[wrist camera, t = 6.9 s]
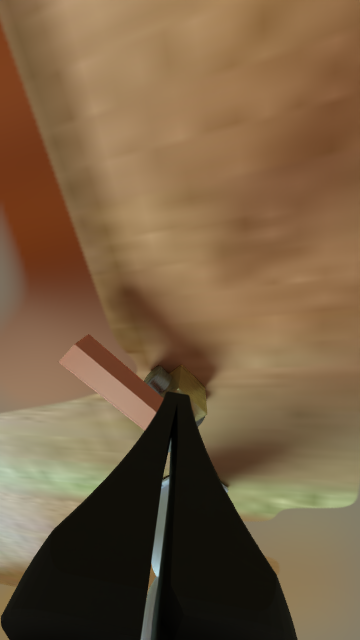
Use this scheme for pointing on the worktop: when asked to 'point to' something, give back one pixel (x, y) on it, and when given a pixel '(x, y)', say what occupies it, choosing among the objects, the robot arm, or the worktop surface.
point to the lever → (113, 381)
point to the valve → (180, 388)
